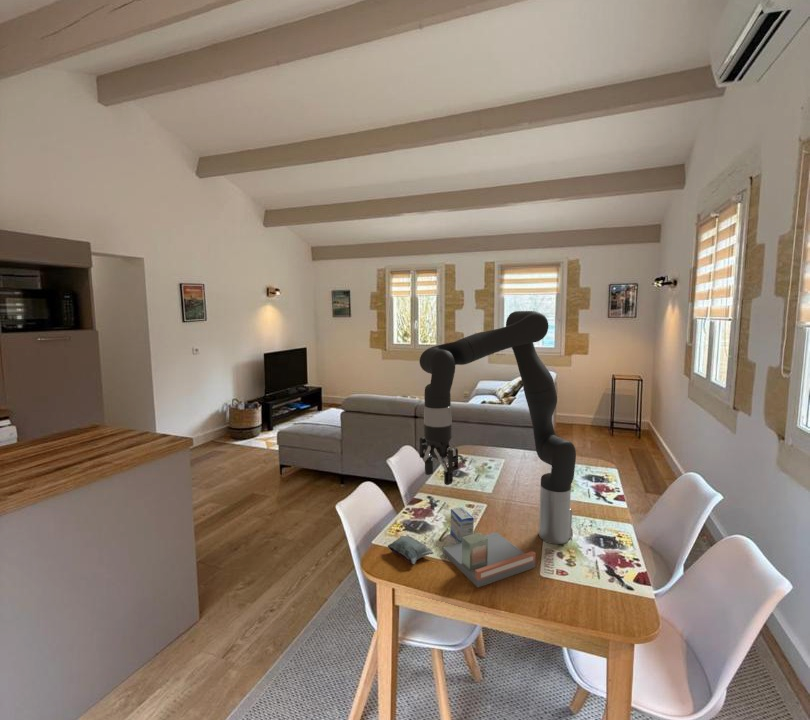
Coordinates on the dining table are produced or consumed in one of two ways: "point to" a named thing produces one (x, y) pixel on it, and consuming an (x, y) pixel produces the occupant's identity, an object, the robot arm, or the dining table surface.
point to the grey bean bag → (409, 549)
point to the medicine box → (461, 523)
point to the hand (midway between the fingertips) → (438, 478)
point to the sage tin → (474, 551)
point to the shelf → (493, 560)
